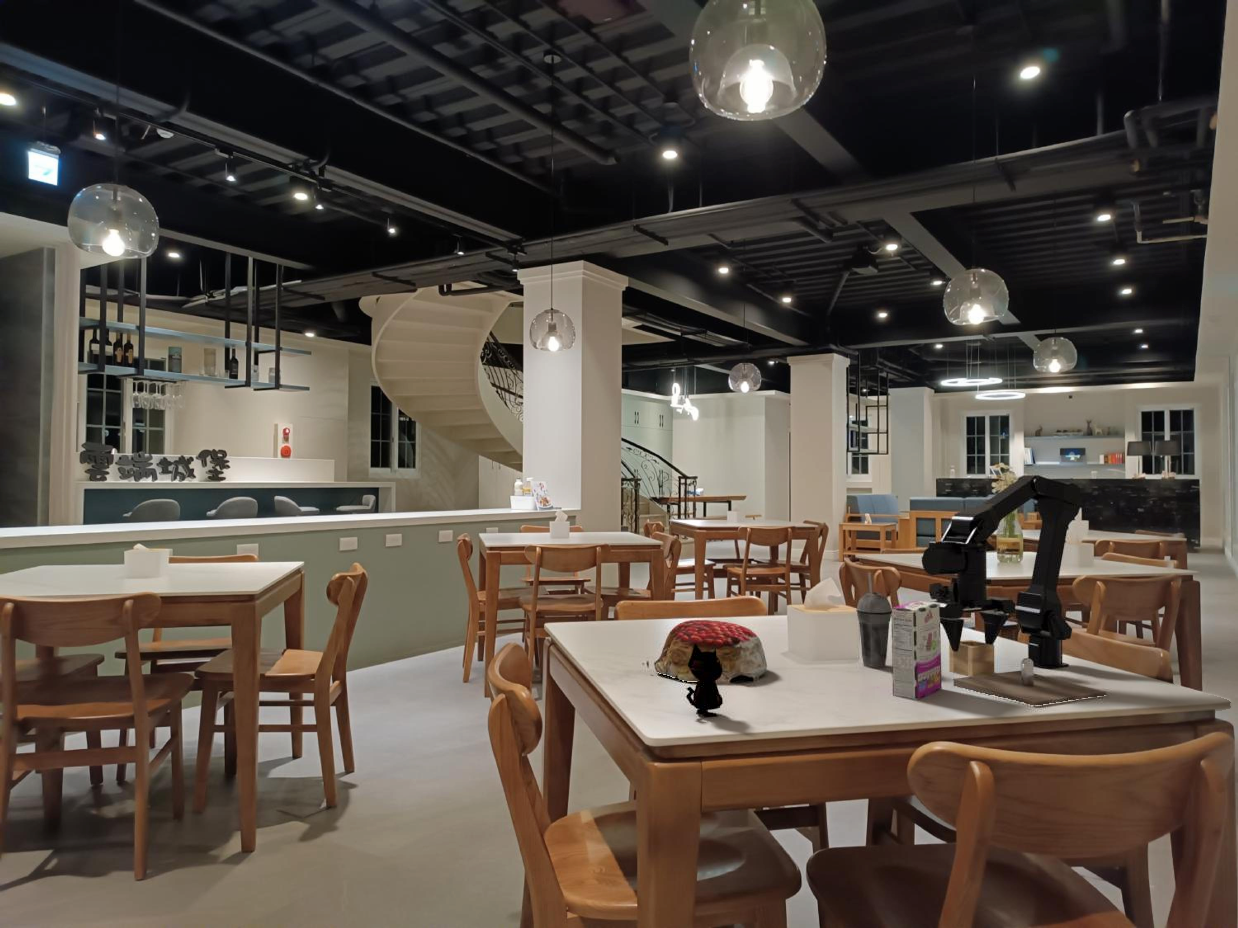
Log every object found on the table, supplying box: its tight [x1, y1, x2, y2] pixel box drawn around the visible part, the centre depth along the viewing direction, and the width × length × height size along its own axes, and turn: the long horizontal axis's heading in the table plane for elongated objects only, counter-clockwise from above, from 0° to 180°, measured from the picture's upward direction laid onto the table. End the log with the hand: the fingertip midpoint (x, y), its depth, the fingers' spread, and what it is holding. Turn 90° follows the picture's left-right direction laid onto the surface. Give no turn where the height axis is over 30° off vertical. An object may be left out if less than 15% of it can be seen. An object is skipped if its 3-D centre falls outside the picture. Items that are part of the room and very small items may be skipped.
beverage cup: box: [856, 571, 892, 669], centre depth 173 cm, size 7×7×20 cm
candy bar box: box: [890, 600, 943, 701], centre depth 151 cm, size 11×5×16 cm, turn 136°
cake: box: [642, 619, 768, 685], centre depth 169 cm, size 23×24×10 cm
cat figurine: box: [685, 644, 729, 718], centre depth 135 cm, size 7×7×12 cm
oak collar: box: [948, 639, 996, 677], centre depth 167 cm, size 6×6×6 cm
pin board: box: [953, 657, 1108, 706], centre depth 151 cm, size 18×18×6 cm
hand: (972, 649), depth 167 cm, fingers open, 9 cm apart
